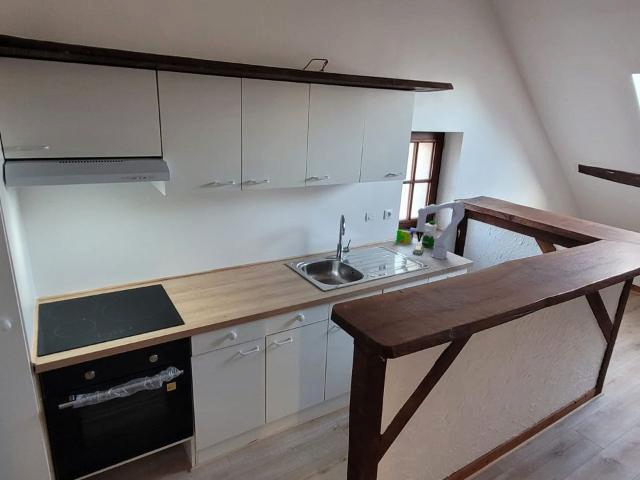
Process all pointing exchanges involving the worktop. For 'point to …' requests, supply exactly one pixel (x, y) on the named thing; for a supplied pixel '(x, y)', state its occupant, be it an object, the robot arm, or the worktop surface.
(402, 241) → the puzzle toy
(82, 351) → the worktop surface
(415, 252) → the key panel
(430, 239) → the milk carton
